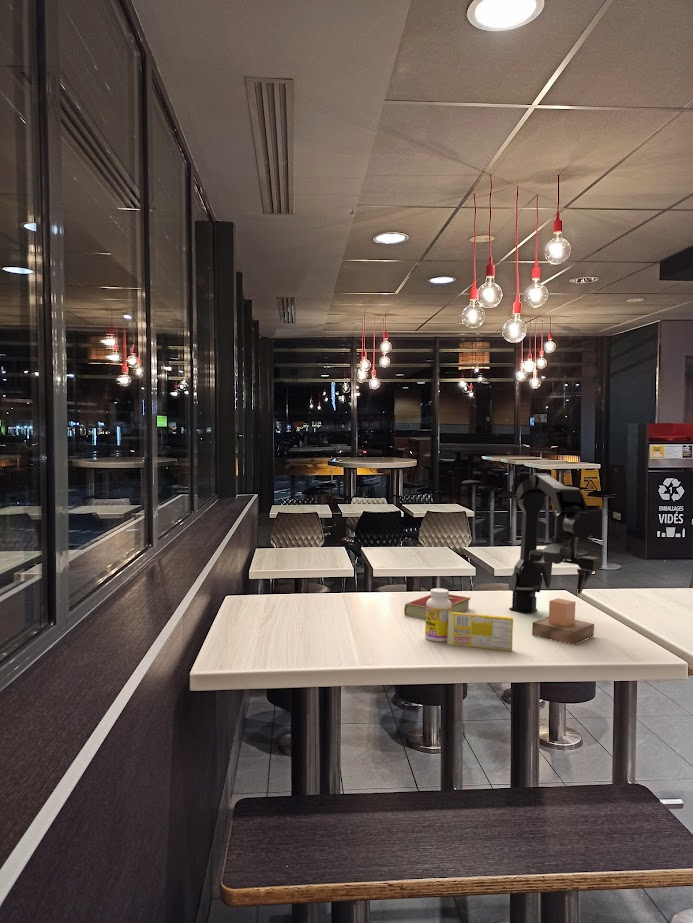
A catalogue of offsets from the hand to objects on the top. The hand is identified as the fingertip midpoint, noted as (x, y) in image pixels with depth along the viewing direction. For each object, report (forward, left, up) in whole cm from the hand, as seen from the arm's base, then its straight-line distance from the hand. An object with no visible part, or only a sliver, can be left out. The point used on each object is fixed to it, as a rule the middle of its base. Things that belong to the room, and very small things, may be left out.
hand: (563, 590), depth 185 cm
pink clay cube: (0, 0, -9) cm, 9 cm away
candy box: (-8, -27, -13) cm, 31 cm away
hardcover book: (-37, -6, -13) cm, 40 cm away
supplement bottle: (-19, -30, -12) cm, 38 cm away
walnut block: (0, 0, -13) cm, 13 cm away
